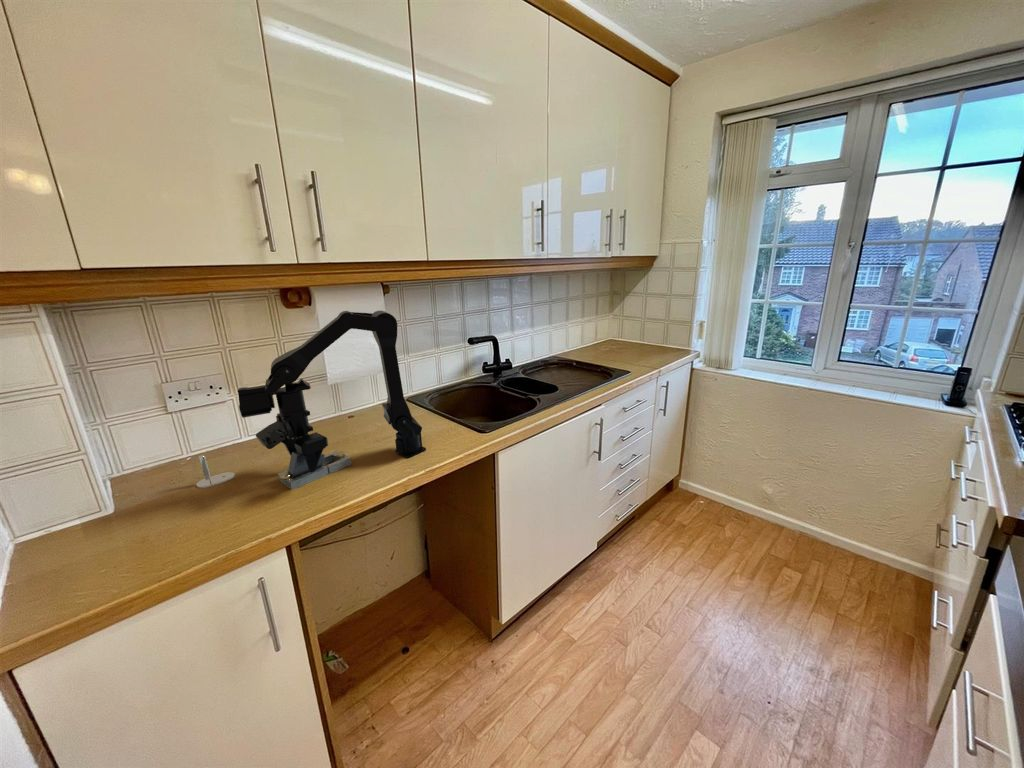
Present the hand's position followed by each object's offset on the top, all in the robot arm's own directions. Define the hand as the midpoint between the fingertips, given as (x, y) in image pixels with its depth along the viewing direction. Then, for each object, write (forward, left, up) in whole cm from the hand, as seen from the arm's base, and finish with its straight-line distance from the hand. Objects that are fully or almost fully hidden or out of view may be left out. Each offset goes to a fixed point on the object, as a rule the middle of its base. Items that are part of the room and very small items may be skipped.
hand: (304, 466), depth 104 cm
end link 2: (-7, 0, -3) cm, 8 cm away
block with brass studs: (0, 0, -2) cm, 2 cm away
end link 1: (+1, 0, -3) cm, 3 cm away
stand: (+15, -17, -3) cm, 23 cm away
